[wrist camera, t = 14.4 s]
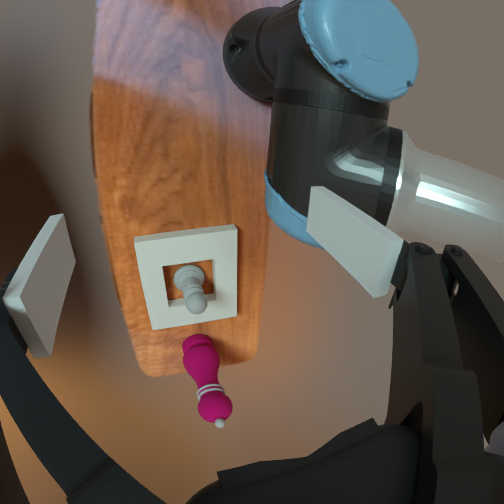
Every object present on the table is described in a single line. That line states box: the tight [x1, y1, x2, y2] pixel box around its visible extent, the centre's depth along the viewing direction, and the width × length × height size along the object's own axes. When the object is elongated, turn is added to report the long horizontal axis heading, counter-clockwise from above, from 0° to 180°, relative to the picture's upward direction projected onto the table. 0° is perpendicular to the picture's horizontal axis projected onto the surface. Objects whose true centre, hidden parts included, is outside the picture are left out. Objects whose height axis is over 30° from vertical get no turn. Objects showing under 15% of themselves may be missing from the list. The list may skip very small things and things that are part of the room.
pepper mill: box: [182, 334, 232, 428], centre depth 51 cm, size 7×7×20 cm
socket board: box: [134, 224, 237, 330], centre depth 50 cm, size 18×16×2 cm
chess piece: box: [174, 265, 207, 314], centre depth 47 cm, size 5×5×9 cm
